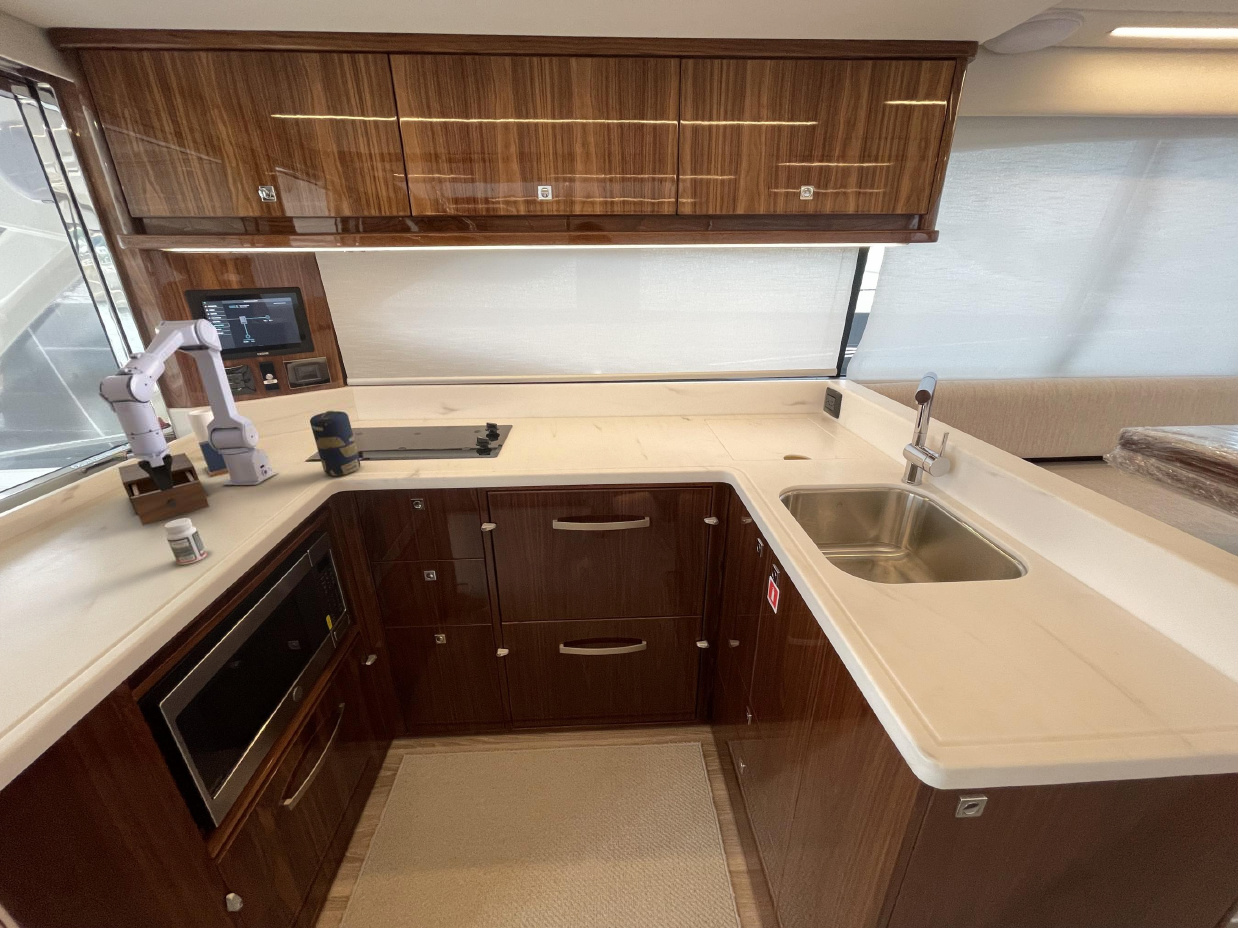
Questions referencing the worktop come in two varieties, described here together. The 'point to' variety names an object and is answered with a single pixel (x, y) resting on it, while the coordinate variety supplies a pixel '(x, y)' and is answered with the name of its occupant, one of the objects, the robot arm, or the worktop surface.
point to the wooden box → (137, 474)
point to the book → (212, 457)
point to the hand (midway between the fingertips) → (166, 488)
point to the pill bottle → (184, 541)
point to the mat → (217, 472)
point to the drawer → (168, 498)
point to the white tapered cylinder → (201, 423)
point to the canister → (335, 442)
